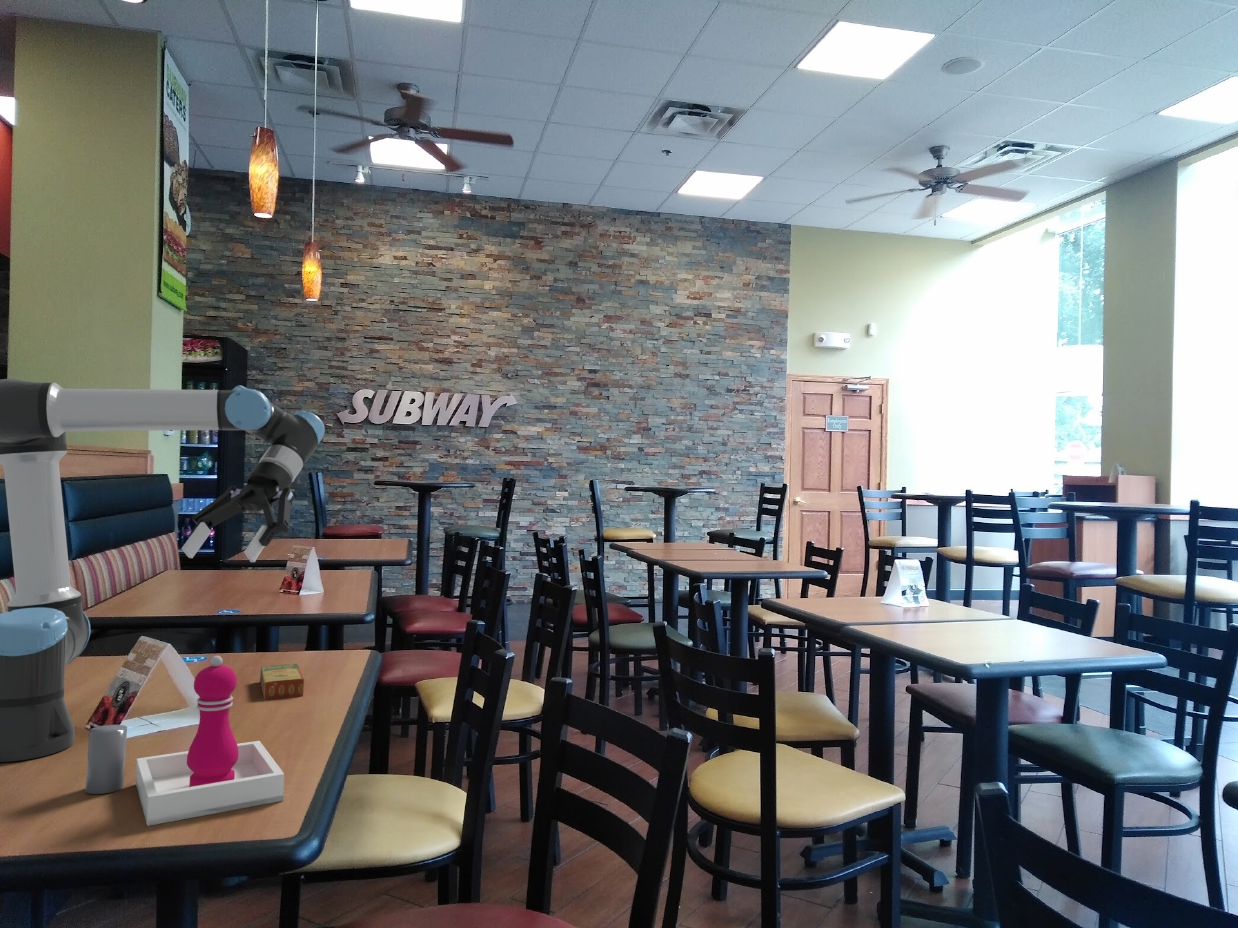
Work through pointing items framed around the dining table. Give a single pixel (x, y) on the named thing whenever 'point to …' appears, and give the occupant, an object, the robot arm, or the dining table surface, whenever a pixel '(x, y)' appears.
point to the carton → (281, 681)
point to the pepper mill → (213, 726)
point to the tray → (206, 785)
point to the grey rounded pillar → (106, 759)
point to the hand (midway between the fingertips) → (217, 555)
